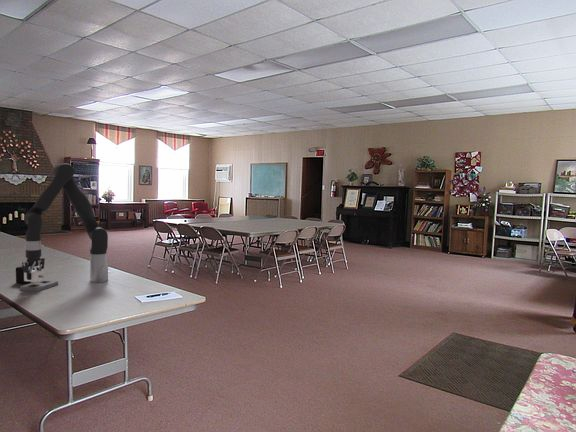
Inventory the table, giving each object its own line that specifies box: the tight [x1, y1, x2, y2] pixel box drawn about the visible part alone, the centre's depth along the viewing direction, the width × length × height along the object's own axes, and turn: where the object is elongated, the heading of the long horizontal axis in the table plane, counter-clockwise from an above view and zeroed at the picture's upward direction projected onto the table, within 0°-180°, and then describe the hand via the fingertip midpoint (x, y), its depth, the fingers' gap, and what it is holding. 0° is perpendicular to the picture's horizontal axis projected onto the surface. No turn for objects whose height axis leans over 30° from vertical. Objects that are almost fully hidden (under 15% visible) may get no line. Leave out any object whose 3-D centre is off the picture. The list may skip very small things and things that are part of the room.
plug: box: [24, 269, 45, 285], centre depth 229 cm, size 9×6×7 cm, turn 81°
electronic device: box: [15, 265, 36, 285], centre depth 241 cm, size 4×10×10 cm, turn 71°
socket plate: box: [19, 279, 59, 293], centre depth 234 cm, size 11×16×2 cm
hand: (33, 278), depth 229 cm, fingers closed on plug, 6 cm apart
